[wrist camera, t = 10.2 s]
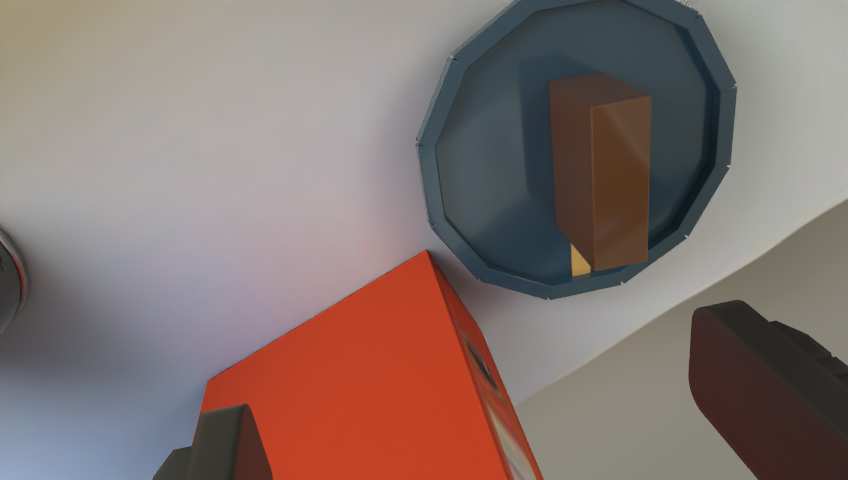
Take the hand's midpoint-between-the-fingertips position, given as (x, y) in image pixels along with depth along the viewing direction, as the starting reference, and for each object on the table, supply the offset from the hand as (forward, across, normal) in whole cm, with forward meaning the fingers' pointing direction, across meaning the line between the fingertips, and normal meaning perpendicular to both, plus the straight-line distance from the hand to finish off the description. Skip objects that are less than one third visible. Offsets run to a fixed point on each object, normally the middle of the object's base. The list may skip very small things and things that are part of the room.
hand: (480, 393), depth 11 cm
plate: (+26, -11, +5) cm, 29 cm away
